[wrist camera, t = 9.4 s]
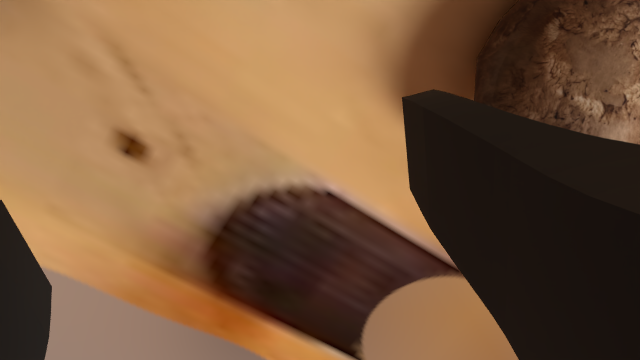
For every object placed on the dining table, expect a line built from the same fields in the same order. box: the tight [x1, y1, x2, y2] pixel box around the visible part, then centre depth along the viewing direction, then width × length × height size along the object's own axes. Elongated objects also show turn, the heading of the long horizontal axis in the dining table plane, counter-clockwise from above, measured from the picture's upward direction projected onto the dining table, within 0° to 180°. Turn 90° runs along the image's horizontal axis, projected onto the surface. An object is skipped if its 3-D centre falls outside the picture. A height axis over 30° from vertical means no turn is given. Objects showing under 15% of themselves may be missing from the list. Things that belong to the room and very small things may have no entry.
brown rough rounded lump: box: [474, 0, 640, 144], centre depth 21 cm, size 8×8×6 cm
